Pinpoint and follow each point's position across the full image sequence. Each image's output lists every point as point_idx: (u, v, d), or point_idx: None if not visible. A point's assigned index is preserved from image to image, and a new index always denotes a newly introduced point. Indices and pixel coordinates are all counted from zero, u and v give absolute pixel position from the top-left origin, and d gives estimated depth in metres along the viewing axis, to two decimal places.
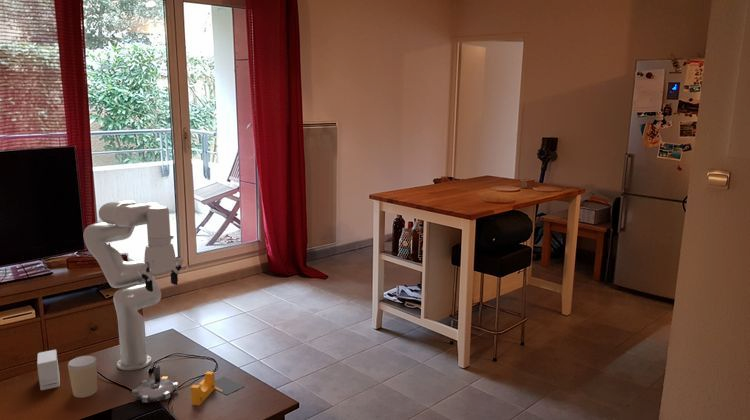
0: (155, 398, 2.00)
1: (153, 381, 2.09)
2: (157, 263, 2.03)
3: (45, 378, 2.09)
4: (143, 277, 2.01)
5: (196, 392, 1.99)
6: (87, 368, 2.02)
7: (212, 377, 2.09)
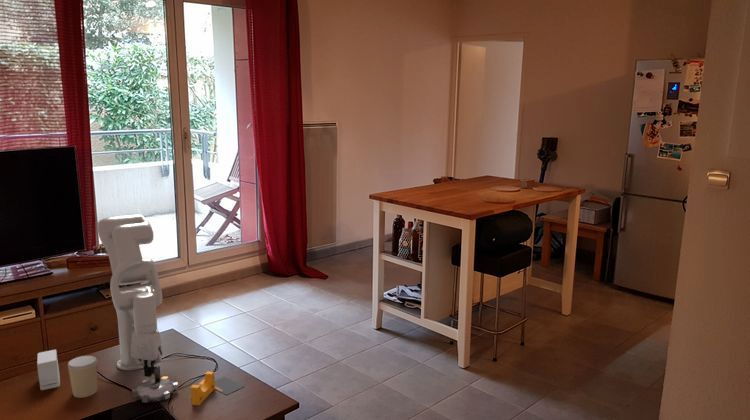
0: (155, 398, 2.00)
1: (153, 381, 2.09)
2: None
3: (45, 378, 2.09)
4: None
5: (196, 392, 1.99)
6: (87, 368, 2.02)
7: (212, 377, 2.09)
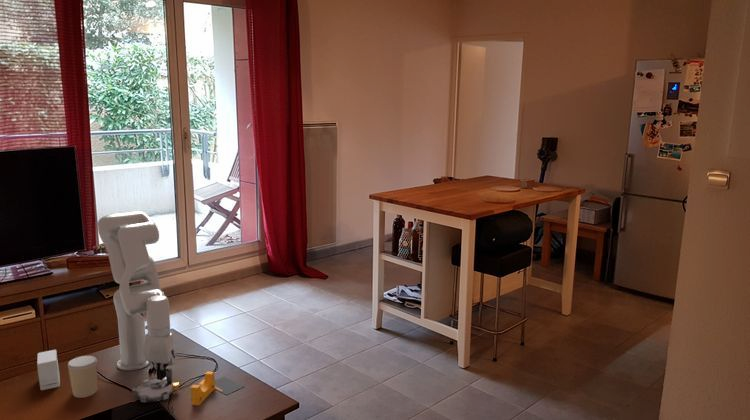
0: (138, 396, 2.01)
1: (165, 382, 2.09)
2: None
3: (45, 378, 2.09)
4: None
5: (196, 392, 1.99)
6: (87, 368, 2.02)
7: (212, 377, 2.09)
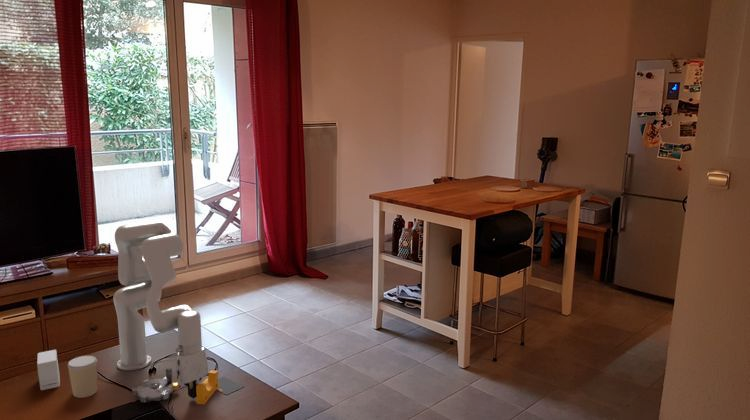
0: (138, 396, 2.02)
1: (165, 382, 2.09)
2: None
3: (45, 378, 2.09)
4: None
5: (202, 391, 1.99)
6: (87, 368, 2.02)
7: (216, 376, 2.09)
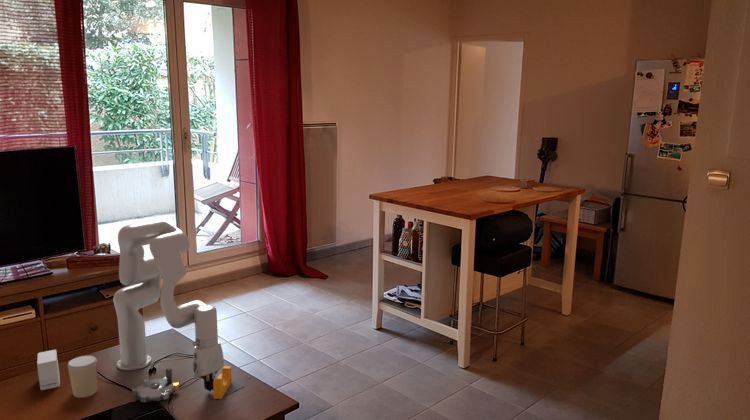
0: (138, 396, 2.02)
1: (165, 382, 2.09)
2: None
3: (45, 378, 2.09)
4: None
5: (219, 386, 2.03)
6: (87, 368, 2.02)
7: (230, 371, 2.13)
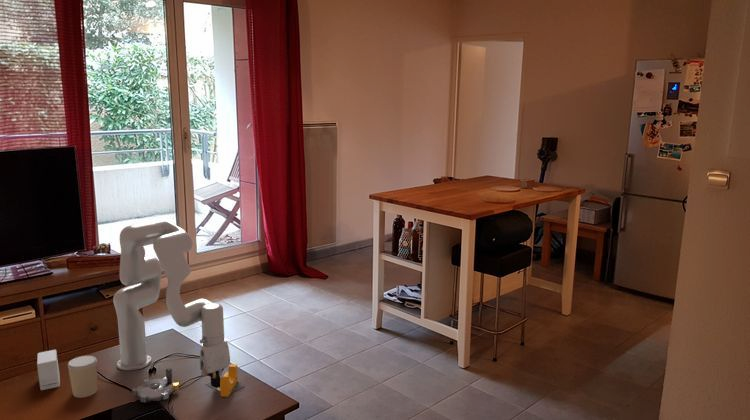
0: (138, 396, 2.02)
1: (165, 382, 2.09)
2: None
3: (45, 378, 2.09)
4: None
5: (226, 384, 2.04)
6: (87, 368, 2.02)
7: (236, 369, 2.15)
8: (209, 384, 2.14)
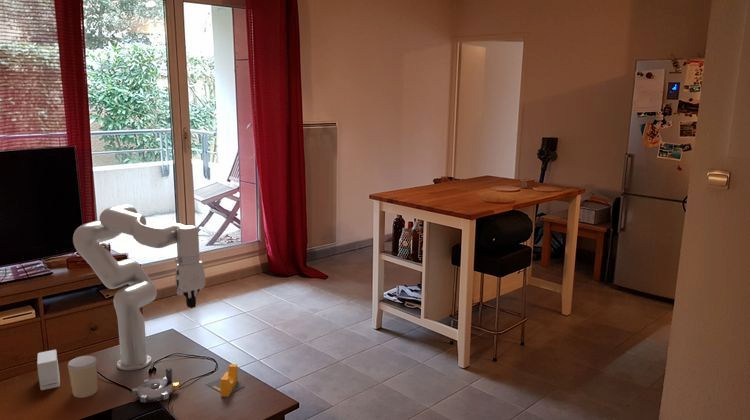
0: (138, 396, 2.02)
1: (165, 382, 2.09)
2: None
3: (45, 378, 2.09)
4: None
5: (226, 384, 2.04)
6: (87, 368, 2.02)
7: (236, 369, 2.15)
8: (209, 384, 2.14)
